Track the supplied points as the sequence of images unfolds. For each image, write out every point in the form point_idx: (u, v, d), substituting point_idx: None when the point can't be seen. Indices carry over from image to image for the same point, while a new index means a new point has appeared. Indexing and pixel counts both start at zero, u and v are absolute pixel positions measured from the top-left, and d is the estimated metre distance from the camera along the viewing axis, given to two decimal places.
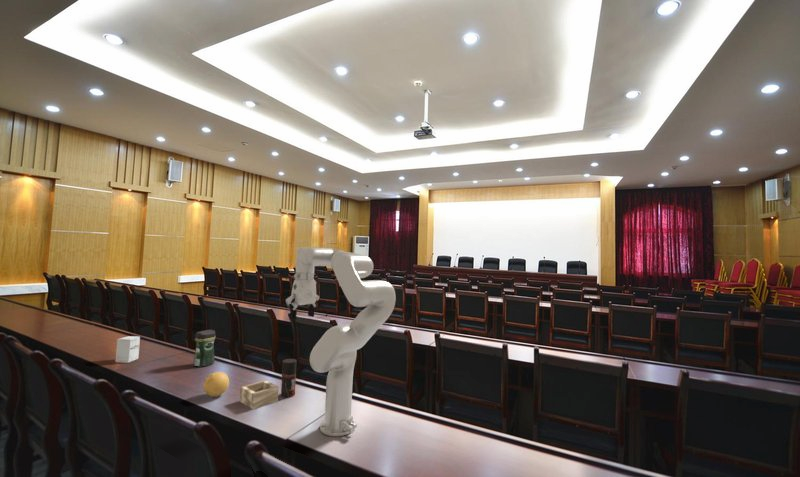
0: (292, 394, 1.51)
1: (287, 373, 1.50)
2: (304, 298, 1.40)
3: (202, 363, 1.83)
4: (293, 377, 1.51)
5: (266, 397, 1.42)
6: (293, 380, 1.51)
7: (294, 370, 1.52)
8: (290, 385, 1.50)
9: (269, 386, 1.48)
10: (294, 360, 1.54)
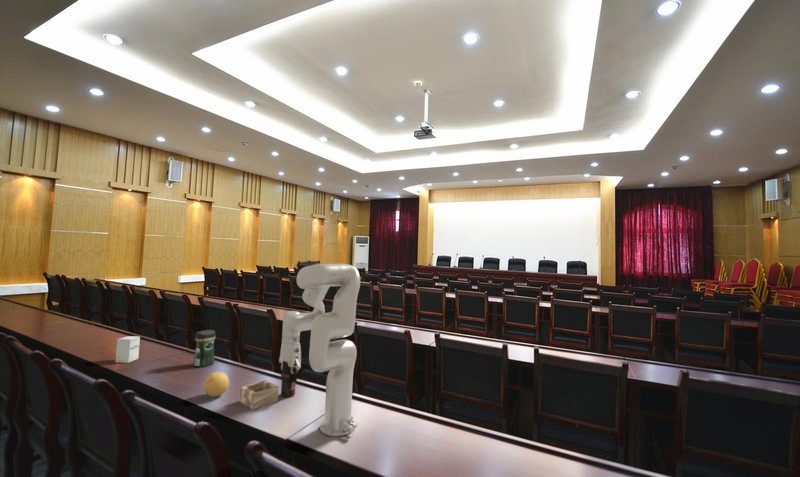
0: (292, 394, 1.51)
1: (287, 373, 1.50)
2: None
3: (202, 363, 1.83)
4: None
5: (266, 397, 1.42)
6: None
7: None
8: (290, 385, 1.50)
9: (269, 386, 1.48)
10: None
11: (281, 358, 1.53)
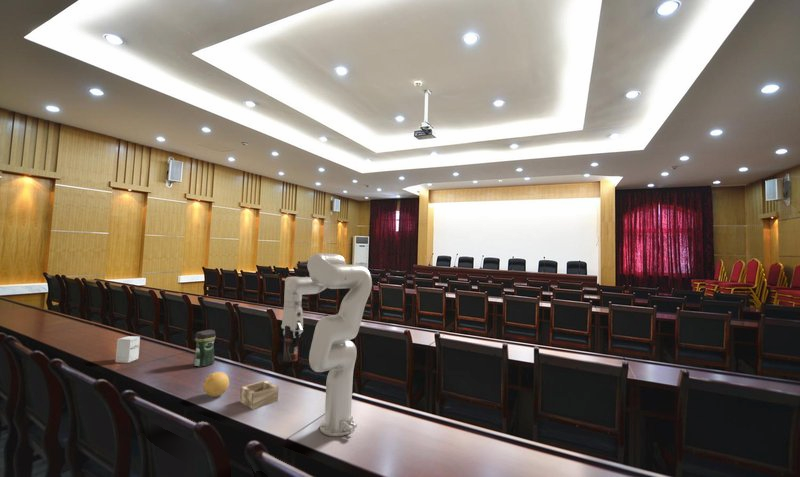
0: (295, 358, 1.51)
1: (289, 337, 1.50)
2: None
3: (202, 363, 1.83)
4: None
5: (266, 397, 1.42)
6: None
7: None
8: (292, 350, 1.50)
9: (269, 386, 1.48)
10: None
11: (283, 323, 1.54)
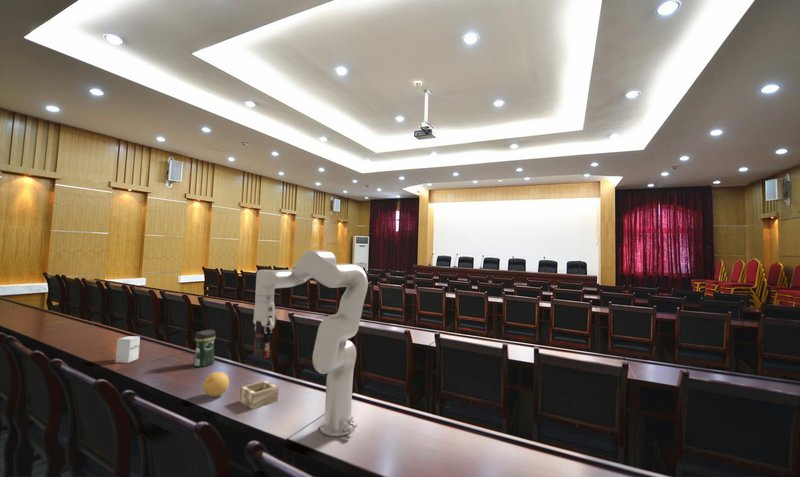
0: (266, 355, 1.44)
1: (260, 333, 1.43)
2: None
3: (202, 363, 1.83)
4: None
5: (266, 397, 1.42)
6: None
7: None
8: (263, 346, 1.43)
9: (269, 386, 1.48)
10: None
11: (255, 318, 1.47)
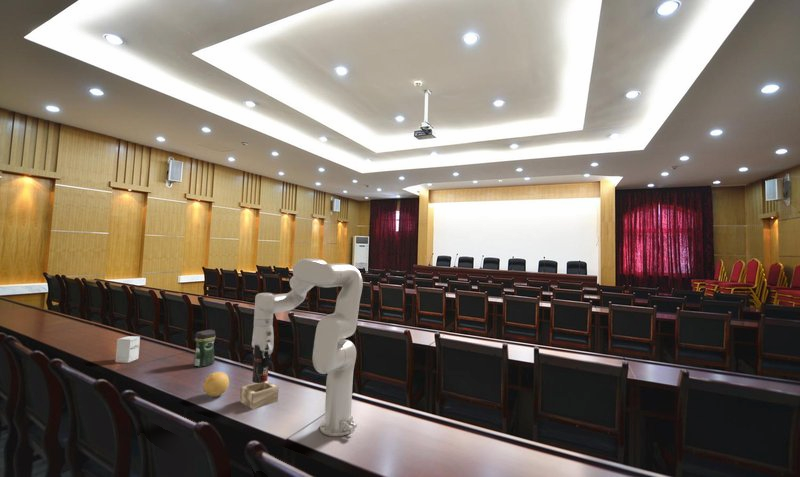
0: (264, 379, 1.44)
1: (259, 357, 1.43)
2: None
3: (202, 363, 1.83)
4: None
5: (266, 397, 1.42)
6: None
7: None
8: (262, 370, 1.43)
9: (269, 386, 1.48)
10: None
11: (253, 342, 1.46)
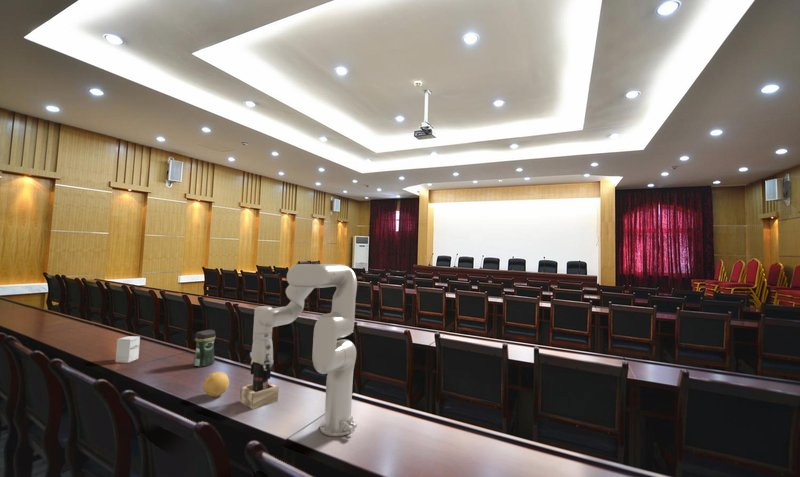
0: None
1: (258, 376, 1.42)
2: None
3: (202, 363, 1.83)
4: (264, 380, 1.44)
5: (266, 397, 1.42)
6: (264, 383, 1.44)
7: None
8: (261, 389, 1.43)
9: (269, 386, 1.48)
10: None
11: (252, 355, 1.46)
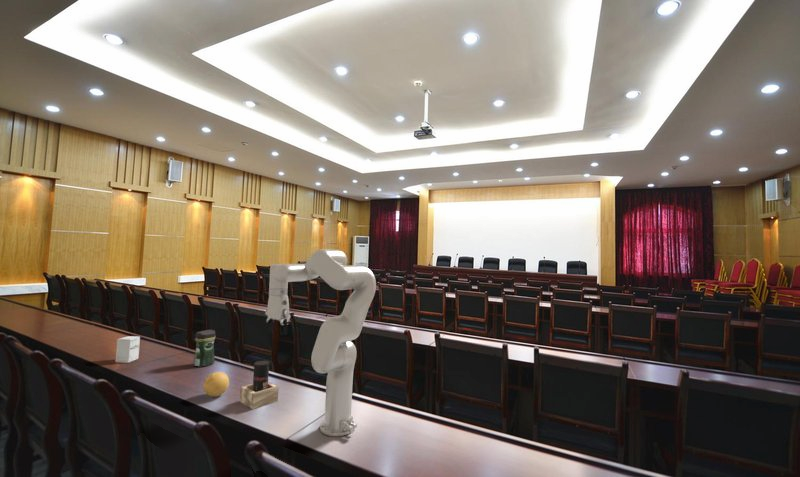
0: None
1: (258, 376, 1.42)
2: None
3: (202, 363, 1.83)
4: (265, 380, 1.44)
5: (266, 397, 1.42)
6: (265, 383, 1.44)
7: (266, 373, 1.44)
8: (261, 389, 1.43)
9: (269, 386, 1.48)
10: (267, 362, 1.46)
11: (268, 312, 1.47)
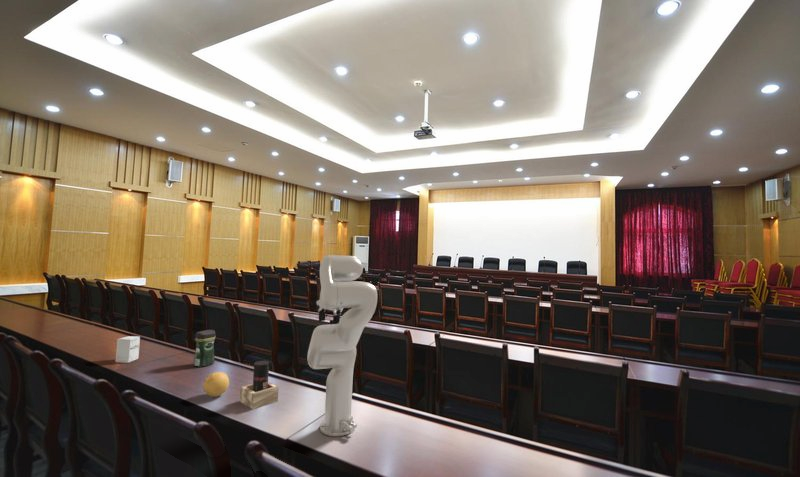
0: None
1: (258, 376, 1.42)
2: None
3: (202, 363, 1.83)
4: (265, 380, 1.44)
5: (266, 397, 1.42)
6: (265, 383, 1.44)
7: (266, 373, 1.44)
8: (261, 389, 1.43)
9: (269, 386, 1.48)
10: (266, 362, 1.46)
11: (321, 302, 1.51)
